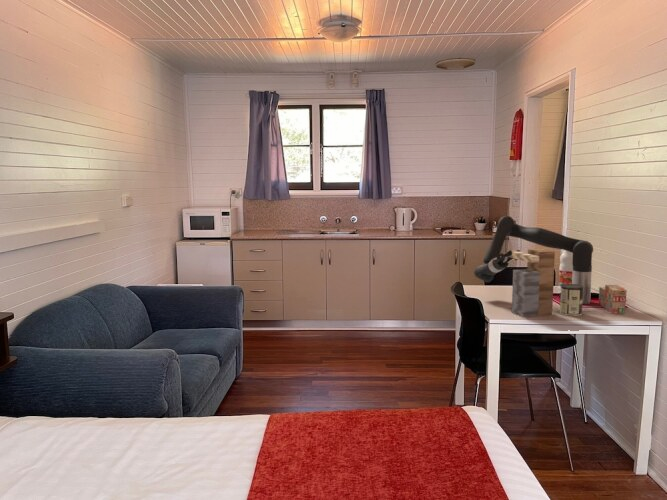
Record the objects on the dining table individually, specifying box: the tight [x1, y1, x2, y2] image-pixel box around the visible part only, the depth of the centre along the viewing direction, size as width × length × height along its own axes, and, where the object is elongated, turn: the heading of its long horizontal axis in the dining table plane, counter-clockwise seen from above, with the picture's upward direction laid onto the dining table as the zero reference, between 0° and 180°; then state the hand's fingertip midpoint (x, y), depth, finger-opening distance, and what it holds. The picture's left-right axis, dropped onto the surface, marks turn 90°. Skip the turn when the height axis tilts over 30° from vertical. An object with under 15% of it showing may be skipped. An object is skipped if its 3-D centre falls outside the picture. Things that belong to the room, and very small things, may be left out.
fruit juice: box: [558, 250, 573, 291], centre depth 308 cm, size 9×9×28 cm
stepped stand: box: [511, 248, 556, 318], centre depth 255 cm, size 10×16×32 cm, turn 105°
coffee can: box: [559, 284, 584, 317], centre depth 256 cm, size 10×10×14 cm
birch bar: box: [509, 250, 539, 263], centre depth 255 cm, size 20×4×3 cm, turn 15°
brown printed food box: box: [598, 284, 628, 315], centre depth 264 cm, size 21×6×12 cm, turn 169°
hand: (515, 251), depth 261 cm, fingers closed on birch bar, 4 cm apart
